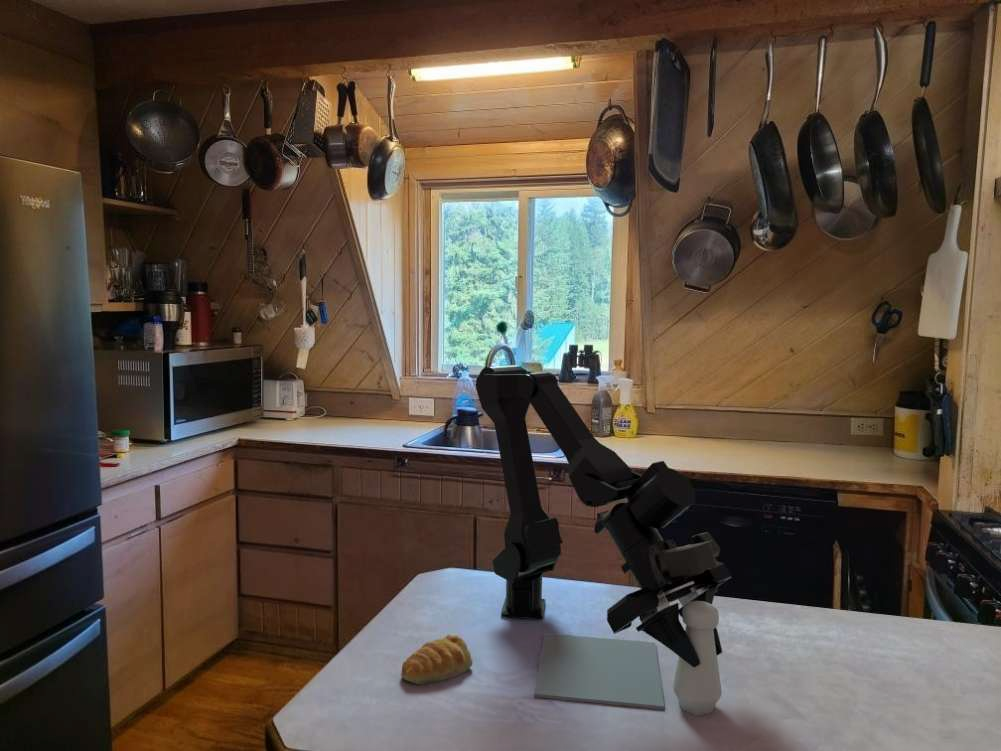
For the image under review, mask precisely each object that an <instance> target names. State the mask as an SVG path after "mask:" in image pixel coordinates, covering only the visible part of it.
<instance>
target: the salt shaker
mask: <svg viewBox="0 0 1001 751" xmlns="http://www.w3.org/2000/svg"><path fill="white" fill-rule="evenodd" d="M682 607H683V606H682ZM682 617H683V618H682ZM682 617H681V618H682V622H683V624H684V625H685V628H684V630H685V632H686V634H687V636H688V638H689V640H690V641H691V643H692V645H693V647H694V649H695V651H696V653H697V655H698V658H699V660H700V665H698V666H696V667H692V666H691V665H690V664H688V663H687V662H686V661H685V660H683V659H682V658H681V657H679V656H678V659H677V663H676V668H675V671H674V677H673V680H672V681H673V682H672V683H673V692H674V694H675V696H676V698H677V701H678V702H679V705H680V708H681V709H682V710H683V711H684V712H685V711H686V712H687V713H690V714H692V715H695V716H701V715H709V714H711V713H712V711H713V710H714V708H715V706H716V705H717V703H718V701H719V700H720V699H721V697H722V693H723V692H722V685H721V678H720V671H719V670H720V669H719V663H718V655H717V654H716V646H715V639H714V632H713V629H715V628H717V627H718V625H719V621H720V620H719V619H720V615H719V610H718V608H716V606H714V605H713V603H712V604H710V603H707V602H703V601H691V602H688V603H687V604H686V605H685V606H684V607H683V611H682Z"/></svg>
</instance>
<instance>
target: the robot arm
mask: <svg viewBox="0 0 1001 751" xmlns="http://www.w3.org/2000/svg"><path fill="white" fill-rule="evenodd" d="M475 389H476V393H477V396H478V399H479V404H480V407H481V409H482V410H483V412H484V413H485V414H486V415H487V417H488V418H489V419H490V420H491V422H492V423H493V424H494V430H495V434H496V435H495V436H496V440H497V446H498V452H499V457H500V462H501V468H502V473H503V479H504V484H505V490H506V494H507V496H506V497H507V501H508V506H509V517H508V520H507V523H506V525H505V530H504V532H503V534H504V535H503V537H504V549H503V550H501V552H499V554H497V556H496V557H494V559H493V560H492V565H493V570H494V574H495V575H496V576H498V577H500V578H502V579H504V580H505V581H506V582H505V583H506V584H505V599H504V602H503V605H502V607H501V611H500V616H501V617H506V618H507V617H508V618H519V619H520V618H521V619H531V620H532V619H533V620H534V619H535V620H542V619H543V617H544V612H545V608H546V607H545V606H546V599H545V598H542V597H543V595H542V594H543V573H544V574H545V573H547V572H553V571H554V570H555V567H556V564H557V561H558V560H559V557H560V556H561V554H562V545H561V544H563V543H564V541H563V539H562V537H561V533H560V526H559V524H560V523H559V520H558V519H557V518H556V517H552V518H550V516H549V515H548V514H547V513H546V511H545V510H544V509H543V507H542V506H543V505H542V502H541V497H540V491H539V486H538V480H537V474H536V470H535V464H534V459H533V454H532V453H533V452H532V448H531V444H530V437H529V432H528V426H527V422H526V418H527V417H526V416H527V414H528V410H529V407H530V405H531V406H532V408H533V409H534V412H536V414H537V416H538V417H539V419H540V421H541V422H542V423H543V425H544V426H545V428H546V429H547V430H548V432H549V434H550V435H551V437H552V438H553V439H554V441H555V443H556V444H557V446H558V448H559V449H560V450H561V452H562V454H563V455H564V456H565V459H566V460H567V463H568V478H569V480H570V482H571V483H570V484H572V487H573V488H574V491H575V493H576V495H577V496H578V498H579V500H580V501H581V503H582V504H583V505H584V506H586V507H592V508H599V507H603V506H606V505H610V504H614V503H617V504H615V505H614V506H612V507H611V508H610V510H608V509H607V510H604V511H600V512H597V513H596V522H595V524H594V528H593V529H594V530H593V532H594V533H595V534H596V535H597V534H601V533H603V532H608V534H609V536H610V537H611V539H612V541H613V543H614V544H615V547H616V549H618V551H619V553H620V554H621V557H622V558H623V560H624V562H625V563H623V564H622V565H621V566H620V568H621V570H622V572H623V574H627V573H630V572H631V574H632V576H633V577H634V580H635V581H636V583H637V584H638V586H639V588H640V589H637V590H635V591H632V592H631V593H628V594H626V595H624V596H623V597H622V598H621V599H620V600H618V601H617V602H615V603H614V604H613V605H612V606H611V607H609V608H608V609H606V611H607V612H606V621H607V623H608V625H609V627H610V629H611V631H612V632H613V634H614V635H615V634H618V633H620V632H622V631H625V630H627V629H629V628H631V627H632V623H633V622H634V621H635V620H636V619H637V618H638V617H639V618H638V619H639V622H640V623H641V624H640V625H638V626H637V627H636V628H635V630H636V631H637V632H644V633H645V634H646V635H648V636H650V637H652V638H653V639H654V640H656V641H658V642H659V643H660V644H662V645H663V646H665V647H666V648H667V649H669V650H670V651H671V652H673V653H674V654H675V655H677V656H678V658H679V657H681V658H682V659H683V660H685V661H686V662H687V663H688V664H690V665H691V666H692V667H696V666H698V665H700V660H699V658H698V655H697V653H696V651H695V649H694V647H693V645H692V643H691V641H690V640H689V638H688V636H687V634H686V632H685V628H684V627H683V625H682V623H681V621H680V617H681V618H682V619H683V617H682V611H683V607H684V606H685V605H686V604H687V603H688V602H691V601H703V602H707V603H710V604H712V605H713V602H714V597H715V594H716V593H717V592H718V589H719V586H721V585H722V584H723V583H725V582H726V581H728V580H729V579H731V578H732V577H733V575H732V574H731V573H730V571H729V569H728V568H727V566H726V565H725V563H723V562H721V561H717V559H716V558H718V557H719V556H720V552H721V548H720V546H719V545H718V543H717V542H716V540H715V539H714V537H713V536H712V535H711V534H710V532H709V531H707V532H703V533H698V534H695V535H692V536H691V539H690V544H687V545H684V546H683V545H682V546H677V544H676V541H674V540H673V539H671V537H670V538H666V539H663V537H662V535H661V534H660V532H659V531H658V529H663V528H665V527H667V526H668V525H669V524H670V523H671V522H672V521H673V520H675V519H676V518H677V517H678V516H680V515H681V514H682V513H683V512H685V511H686V510H687V509H688V508H689V507H691V505H693V504H694V503H695V501H696V492H695V489H694V486H693V484H692V483H691V481H690V480H689V479H688V478H687V477H685V476H684V475H683V474H682V473H680V472H679V471H677V470H675V469H674V468H670V467H669V466H668V465H667V464H666V462H665V461H664V460H659V461H655V462H652V463H651V464H650V465H649V466H648V467H647V468H646V470H645V472H644V473H643V474H640V473H639V472H636V471H634V470H632V469H631V468H630V466H629V464H627V463H626V462H625V460H623V459H622V458H621V457H620V456H619V455H618V453H617V452H616V451H614V450H612V449H611V448H609V447H607V446H606V445H604V444H602V443H600V442H599V441H598V440H597V439H596V437H595V436H594V434H592V432H591V431H590V429H589V427H588V426H587V425H586V423H585V422H584V420H583V419H582V417H581V416H580V415H579V413H578V412H577V410H576V409H575V407H574V406H573V405H572V403H571V402H570V400H569V399H568V397H567V396H566V394H565V393H564V392H563V390H562V389H561V387H560V386H559V382H558V379H557V377H556V375H555V374H554V373H551V372H549V371H535V370H534V371H533V370H532V371H530V370H529V371H528V370H527V369H524V368H523V367H522V366H521V365H518V364H512V365H510V364H509V365H498V366H486V367H483V368H482V369H481V370H480V372H479V374H478V376H477V377H476V379H475ZM625 500H627V502H621V501H625ZM618 502H619V503H618ZM677 600H678V601H679V602H676V603H673V602H675V601H677ZM671 603H673V604H672V605H671ZM679 603H680V604H681V607H679V606H680V604H679ZM713 632H714V639H715V646H716V654H717V656H719V655H721V654H722V653H723V649H722V644H721V640H720V636H719V631H718V629H717V627H716V628H715V629H713Z"/></svg>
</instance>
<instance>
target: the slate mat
mask: <svg viewBox="0 0 1001 751" xmlns="http://www.w3.org/2000/svg"><path fill="white" fill-rule="evenodd" d="M541 645H542V647H541V653H540V658H539V661H538V662H539V663H538V669H537V674H536V680H535V685H534V686H535V687H534V692H533V698H535V697H536V698H544V699H554V700H565V701H572V702H574V701H575V702H584V703H585V702H586V703H595V704H606V705H614V706H615V705H617V706H624V707H625V706H626V707H637V708H638V707H639V708H646V709H648V708H649V709H657V710H665V703H664V695H663V688H662V682H661V674H660V667H659V660H658V659H659V658H658V653H657V645H656V642H653V641H640V640H631V639H630V640H629V639H628V640H627V639H620V638H619V639H618V638H607V637H606V638H604V637H592V636H580V635H571V634H570V635H568V634H557V633H546V632H545V633H544V634H543V640H542V644H541Z"/></svg>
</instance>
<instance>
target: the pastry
mask: <svg viewBox="0 0 1001 751" xmlns="http://www.w3.org/2000/svg"><path fill="white" fill-rule="evenodd" d="M471 655H472V654H471V652H470V650H469V649H468V647H467V643H466V642H465V640H464V639H463V638H461V637H460V636H459V635H451V634H447V635H445V636H444V637H442V638H438V639H435V640H431V641H428V642H424V643H423V645H422V646H421V647H420V648H419V649H417V650H416V651H415V652H413V653H412V654H411V655H410V656H409V657H408V658H406V660H405V661H404V662H403V663H402V666H401V673H400V675H401V676H400V678H402V679H404V680H405V681H408V682H409V683H412V684H415V685H425V684H428V683H434V682H436V683H437V682H443V681H445V680H448V679H450V678H453V677H456V676H458V675H461V674H463V673H466V672H467V671H468V670H470V668H472V666H473V658H472V656H471Z"/></svg>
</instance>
